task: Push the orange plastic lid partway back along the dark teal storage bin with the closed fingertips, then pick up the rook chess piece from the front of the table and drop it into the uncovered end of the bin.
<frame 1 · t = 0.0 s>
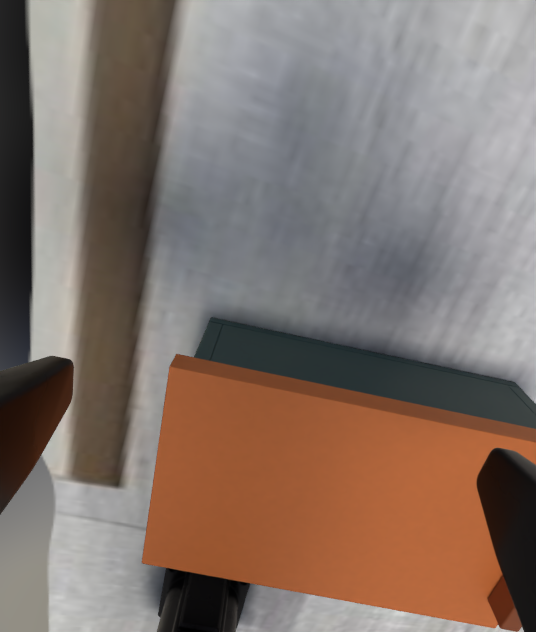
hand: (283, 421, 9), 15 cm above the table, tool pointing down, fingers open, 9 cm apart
bin lid: (351, 496, 21), point 6 cm above the table, touching bin
bin: (338, 428, 26), on the table
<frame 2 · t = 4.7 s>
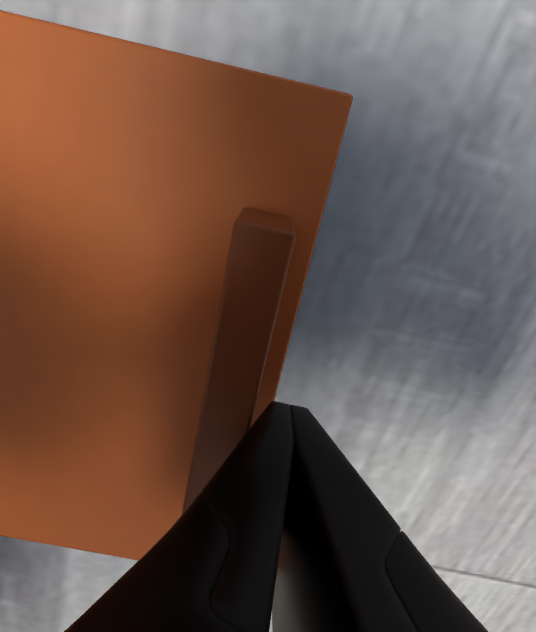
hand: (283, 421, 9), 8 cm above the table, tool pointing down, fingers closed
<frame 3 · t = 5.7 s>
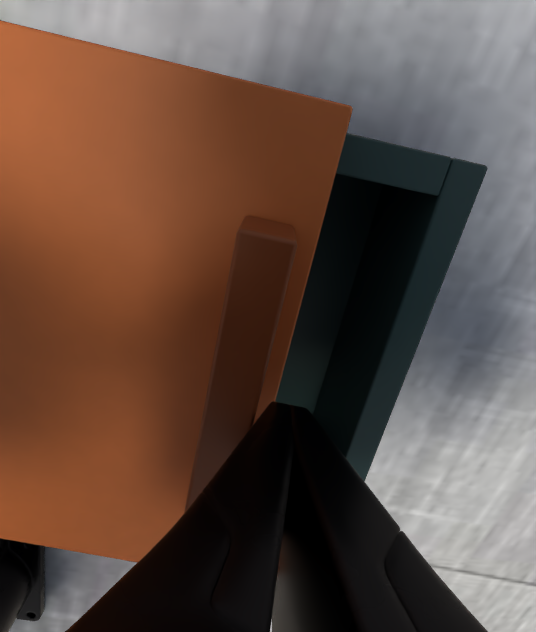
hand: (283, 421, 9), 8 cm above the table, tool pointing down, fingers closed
bin: (121, 266, 15), on the table
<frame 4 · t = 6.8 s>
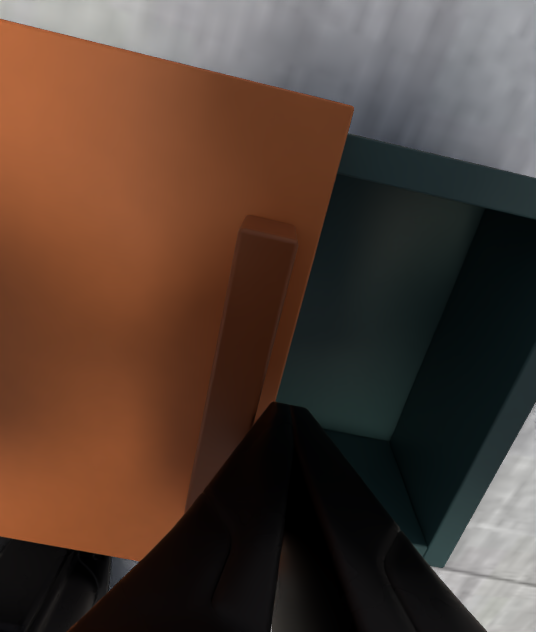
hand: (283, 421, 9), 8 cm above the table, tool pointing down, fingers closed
bin: (213, 284, 16), on the table
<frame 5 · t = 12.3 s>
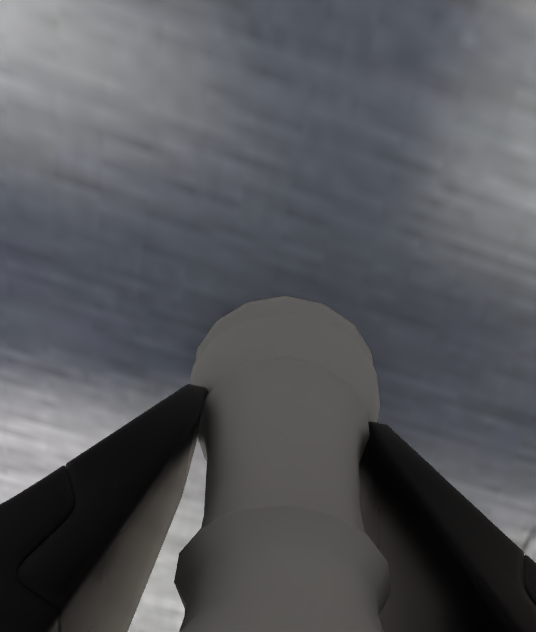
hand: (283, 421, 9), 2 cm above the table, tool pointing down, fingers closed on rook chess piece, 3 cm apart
rook chess piece: (283, 368, 11), on the table, touching gripper
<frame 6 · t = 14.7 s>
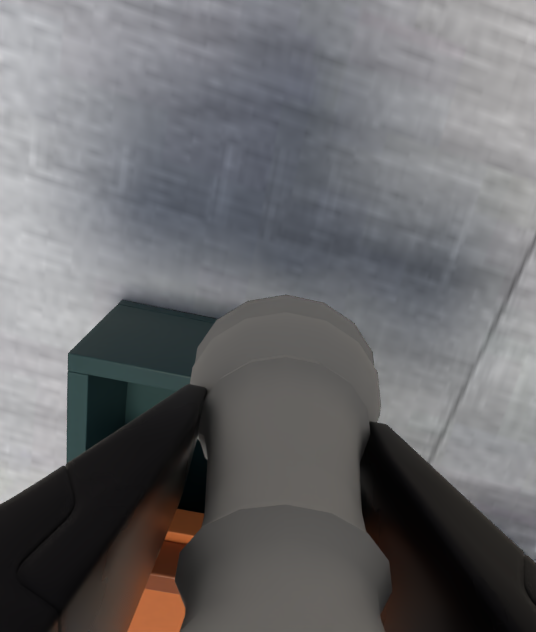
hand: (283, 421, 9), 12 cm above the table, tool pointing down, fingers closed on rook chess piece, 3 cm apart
rook chess piece: (283, 367, 11), point 9 cm above the table, touching gripper
bin: (210, 462, 24), on the table
when the fingers open (5 cm above the table, at t = 17.6 s): rook chess piece drops 2 cm, resting on bin.
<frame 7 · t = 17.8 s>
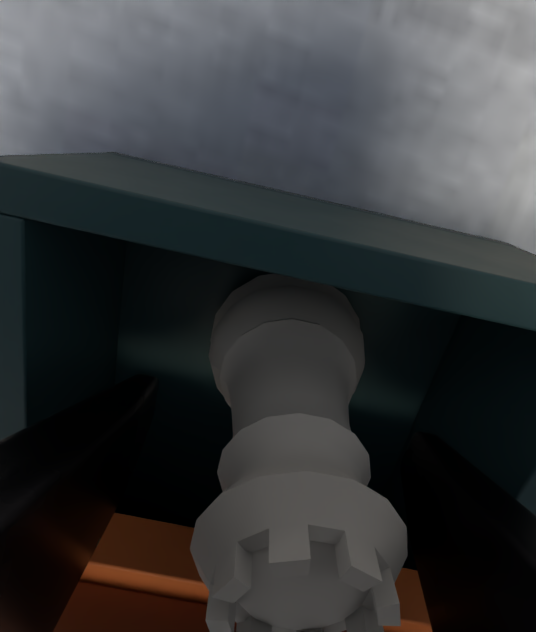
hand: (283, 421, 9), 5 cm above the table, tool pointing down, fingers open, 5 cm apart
rook chess piece: (285, 332, 13), point 1 cm above the table, touching bin
bin: (250, 451, 15), on the table
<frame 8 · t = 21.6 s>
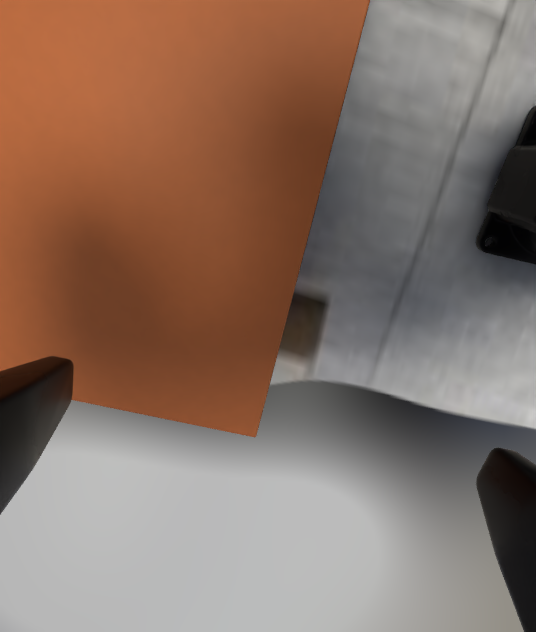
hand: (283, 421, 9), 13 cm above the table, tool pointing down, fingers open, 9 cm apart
bin lid: (136, 137, 13), point 6 cm above the table, touching bin
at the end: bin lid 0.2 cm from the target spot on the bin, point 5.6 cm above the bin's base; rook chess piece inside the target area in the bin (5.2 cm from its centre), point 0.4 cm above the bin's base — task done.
